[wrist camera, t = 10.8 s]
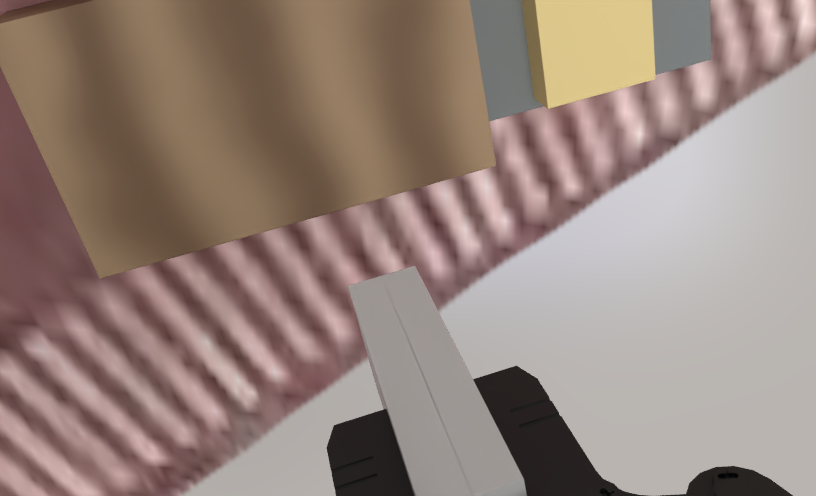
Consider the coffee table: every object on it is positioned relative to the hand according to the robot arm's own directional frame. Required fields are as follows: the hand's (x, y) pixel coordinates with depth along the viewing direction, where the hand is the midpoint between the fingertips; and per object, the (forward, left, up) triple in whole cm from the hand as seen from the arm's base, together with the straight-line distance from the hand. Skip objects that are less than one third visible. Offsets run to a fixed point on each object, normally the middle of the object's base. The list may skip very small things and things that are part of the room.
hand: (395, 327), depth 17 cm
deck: (-2, 0, -24) cm, 24 cm away
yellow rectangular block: (+15, 0, -22) cm, 27 cm away
